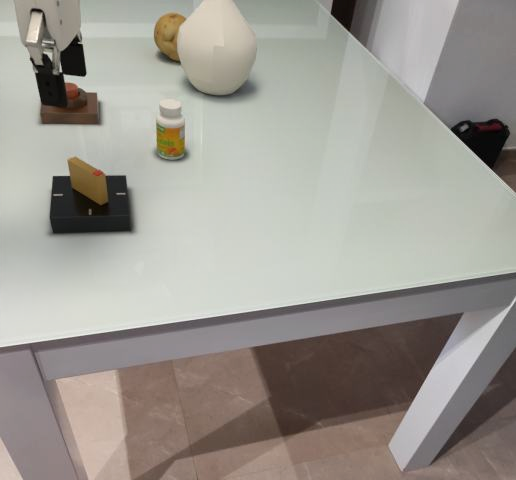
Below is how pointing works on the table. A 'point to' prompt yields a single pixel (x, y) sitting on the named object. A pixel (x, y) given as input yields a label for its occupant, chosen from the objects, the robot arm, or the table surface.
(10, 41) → the table surface
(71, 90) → the red short cylinder
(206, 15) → the vase
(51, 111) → the brown square block
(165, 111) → the supplement bottle
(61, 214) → the dial pointer knob base
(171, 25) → the potato
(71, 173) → the dial pointer knob
